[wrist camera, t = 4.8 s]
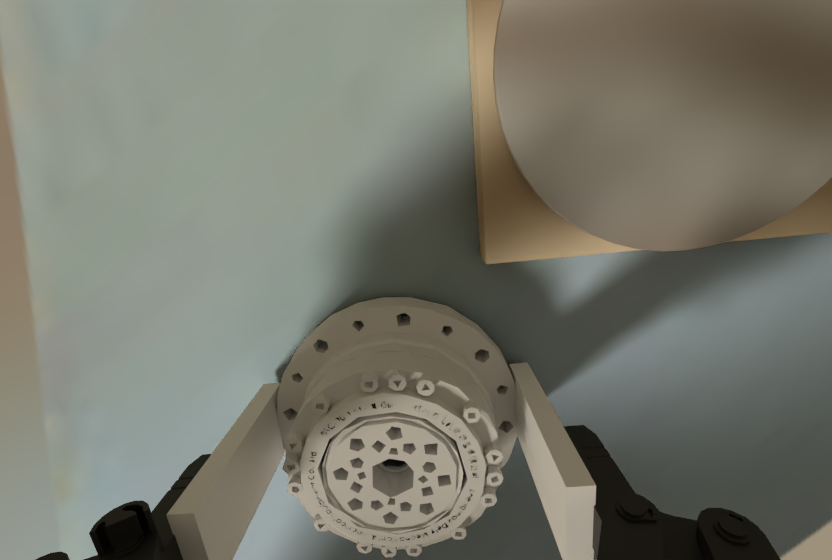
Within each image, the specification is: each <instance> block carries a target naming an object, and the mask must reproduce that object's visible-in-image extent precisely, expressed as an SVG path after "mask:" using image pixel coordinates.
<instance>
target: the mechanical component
mask: <svg viewBox="0 0 832 560" xmlns="http://www.w3.org/2000/svg"><path fill="white" fill-rule="evenodd" d="M402 313H406V314H407V315H408V316H404V317H402V316H401V315H400V314H402ZM480 349H482V350H480ZM277 420H278V424H279V428H280V433H281V436H282V440H283V443H284V446H285V449H286V460H285V463H284V466H283V470H284V471H285V472H286V473H287V474H288V475H289V479H290V482H289V484H288V488H287V491H288V492H289V493H290V494H291V495H295V496H296V497H297V498H298V500H299V501H300V502H301V504H302V505H303V506H304V508H305V509H306V510H307V511H308V513H309V514H310V515H311V516H312V517H313V518H314V523H313V525H314V527H315V528H316V530H317V531H328V530H329V531H331V532H333V533H335V534H337V535H339V536H341V537H343V538H346V539H348V540H350V541H352V542H354V543H357V544H356V547H357V549H358V551H359V552H361V553H364V554H366V553H369V552H371V551H372V547H374V548H378V549H381V553H382V554H383V555H384V556H385V557H393V556H395V555H396V552H397V549H406V552H407V554H408V555H410V556H418V555H419V554H420V553H421V552H422V547H425V546H428V545H432V544H435V543H438V542H441V541H444V540H446V539H448V538H451V537H453V538H454V539H455V540H461V539H464V538H465V537H466V535H467V534H466V528H467V527H468V526H469V525H471V524H472V523H473V522H474V521H476V520H477V519H478V518H479V517H480V516H481V515H482V514H483V512H484V510H485V509H486V507H490V506H494V505H495V503H496V502H497V497H496V493H495V492H496V490H497V489H498V487H499V485H501V483H502V481H503V479H504V478H503V474H502V472H501V469H502V468H503V467H504V465H505V464H506V463H507V462H508V460H509V458H510V455H511V452H512V450H513V447H514V444H515V441H516V438H517V414H516V385H515V383H514V380H513V378H512V375H511V373H510V370H509V368H508V366H507V363H506V361H505V359H504V357H503V355H502V353H501V350H500V349H499V348H498V346H497V345H496V344H495V343H494V342H493V341H492V340H491V339H490V338H489V337H488V336H487V334H486V333H485V332H484V331H483V330H482V329H481V328H480V327H479V326H478V325H477V324H476V323H474V322H473V321H471V320H469V319H468V318H466V317H465V316H463V315H461V314H460V313H458V312H457V311H455V310H453V309H452V308H450V307H449V306H446V305H442V304H438V303H433V302H429V301H425V300H420V299H416V298H412V297H382V298H377V299H373V300H368V301H363V302H358V303H356V304H354V305H352V306H350V307H348V308H345V309H343V310H341V311H339V312H337V313H335V314H332V315H331V316H329V317H328V318H327V319H326V320H325V321H324V322H323V323H321V324H320V325H319V326H318V327H317V328H316V329H315V330H313V331H312V332H311V333H310V334H309V335H308V336H307V337H306V338H305V340H304V341H303V342H302V344H301V345H300V347H299V348H298V350H297V351H296V352H295V354H294V356H293V357H292V359H291V361H290V363H289V364H288V366H287V368H286V370H285V371H284V373H283V376H282V380H281V383H280V387H279V391H278V395H277Z"/></svg>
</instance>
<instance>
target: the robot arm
mask: <svg viewBox="0 0 832 560" xmlns="http://www.w3.org/2000/svg"><path fill="white" fill-rule="evenodd" d="M510 373H511V375H512V378H513V380H514V383H515V385H516V414H517V436H518V439H519V441H520V444H521V447H522V450H523V452H524V455H525V458H526V461H527V463H528V466H529V469H530V472H531V474H532V477H533V480H534V483H535V485H536V488H537V491H538V494H539V496H540V499H541V502H542V505H543V507H544V510H545V513H546V516H547V518H548V521H549V524H550V527H551V529H552V532H553V535H554V538H555V540H556V543H557V546H558V549H559V551H560V554H561V557H562V560H594V552H595V554H596V556H597V560H780V558H779V556H778V555H777V553H776V552H775V550H774V548H773V547H772V545H771V544H770V542H769V540H768V539H767V537H766V536H765V534H764V533H763V532H762V531H761V530H760V529H759V527H758V526H756V525H755V524H754V523H752V522H751V521H750V520H748V519H747V518H746V517H743V516H741V515H739V514H737V513H735V512H733V511H730V510H726V509H722V508H708V509H705V510H703V511H701V513H700V515H699V516H698V521H696V520H691V519H686V518H681V517H675V516H671V515H668V514H664V513H662V512H659V510H658V509H657V508H656V507H655V505H654V504H653V503H651V502H650V501H649V500H647V499H646V498H644V497H642V496H640V495H638V494H636V493H635V492H634V491H633V489H632V488H631V486H630V485H629V483H628V482H627V480H626V479H625V477H624V476H623V474H622V473H621V471H620V470H619V468H618V467H617V465H616V464H615V462H614V461H613V459H612V458H611V457H610V455H609V453H608V452H607V450H606V449H605V448H604V446H603V444H602V443H601V441H600V440H599V438H598V437H597V435H596V434H595V433H593V432H592V431H591V430H589V429H588V428H587V427H585V426H584V425H580V426H566V427H563V425H562V423H561V421H560V420H559V418H558V416H557V414H556V412H555V411H554V409H553V407H552V405H551V404H550V402H549V400H548V398H547V396H546V395H545V393H544V391H543V389H542V387H541V386H540V384H539V382H538V380H537V378H536V377H535V375H534V373H533V371H532V369H531V368H530V366H529V364H528V362H527V363H515V364H510ZM279 387H280V383H271V384H263V386H262V387H261V388H260V390H259V391H258V392H257V394H256V395H255V396H254V398H253V399H252V400H251V402H250V403H249V404H248V406H247V407H246V409H245V410H244V411H243V413H242V414H241V415H240V417H239V418H238V419H237V421H236V422H235V423H234V425H233V426H232V427H231V429H230V430H229V431H228V433H227V434H226V435H225V437H224V438H223V439H222V441H221V442H220V443H219V445H218V446H217V447H216V449H215V450H214V451H213V453H212V454H206V455H202V456H200V457H199V458H198V459H196V460H195V461H194V462H193V463H191V464H190V465H189V466H188V467H187V468H186V470H185V471H184V472H183V473H182V475H181V476H180V477H179V480H177V481H176V482H175V483H174V485H173V486H172V487H171V490H169V491H168V492H167V493H166V495H165V496H164V497H163V498H162V500H161V501H160V502H159V504H158V505H157V506H156V507H155V509H154V510H153V511H152V512H151V511H150V508H149V505H148V504H147V503H146V502H144V501H133V502H129V503H126V504H123V505H121V506H119V507H117V508H115V509H113V510H112V511H110V512H109V513H107V514H106V515H104V516H103V517H102V518H101V519H100V520H99V521H98V522H97V523H96V524H95V525H94V526H93V528H92V530H91V531H90V533H89V534H90V536H91V539H92V541H93V543H94V546H95V548H96V550H97V553H98V555H97V556H94V557H91V558H87V559H84V560H232V559H233V557H234V555H235V553H236V551H237V549H238V547H239V545H240V543H241V541H242V539H243V537H244V535H245V533H246V530H247V528H248V526H249V524H250V522H251V520H252V518H253V516H254V514H255V512H256V510H257V508H258V506H259V504H260V502H261V500H262V498H263V496H264V494H265V492H266V490H267V487H268V485H269V483H270V481H271V479H272V477H273V475H274V473H275V471H276V469H277V467H278V465H279V463H280V461H281V459H282V457H283V455H284V453H285V451H286V449H285V446H284V443H283V440H282V436H281V433H280V428H279V424H278V420H277V395H278V391H279ZM36 560H69V557H68V555H67V554H66V553H63V552H55V553H50V554H47V555H45V556H43V557H40V558H38V559H36Z"/></svg>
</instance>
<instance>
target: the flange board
mask: <svg viewBox="0 0 832 560" xmlns="http://www.w3.org/2000/svg"><path fill="white" fill-rule="evenodd" d="M466 1H467V19H468V38H469V56H470V75H471V93H472V112H473V130H474V148H475V167H476V185H477V204H478V222H479V241H480V256H481V257H482V259H483V260H484V261H485V263H486V264H496V263H506V262H517V261H528V260H539V259H550V258H561V257H571V256H582V255H593V254H604V253H615V252H625V251H636V250H652V251H684V250H691V249H697V248H704V247H709V246H713V245H716V244H720V243H723V242H733V241H744V240H755V239H766V238H777V237H788V236H798V235H809V234H820V233H831V232H832V0H466Z"/></svg>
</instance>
